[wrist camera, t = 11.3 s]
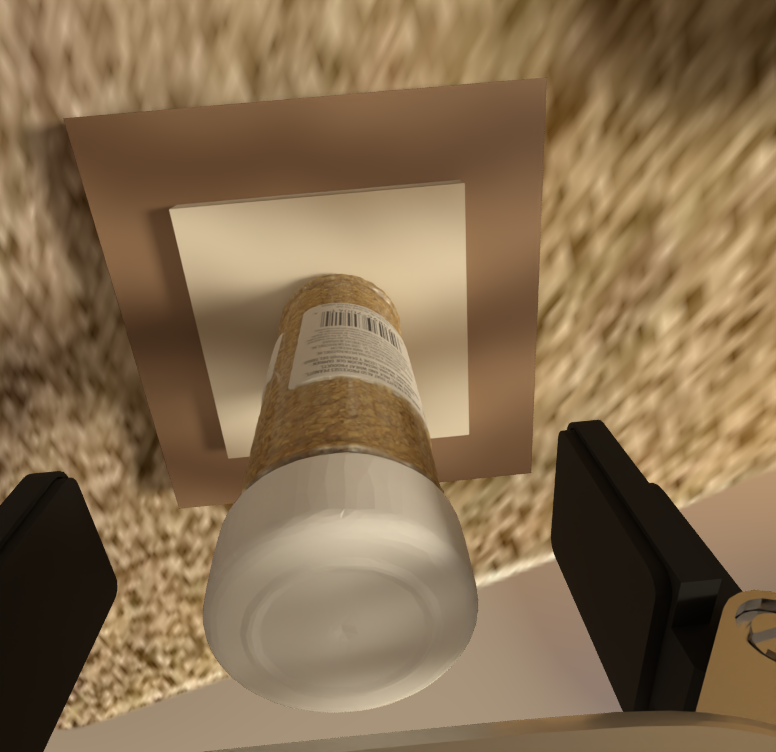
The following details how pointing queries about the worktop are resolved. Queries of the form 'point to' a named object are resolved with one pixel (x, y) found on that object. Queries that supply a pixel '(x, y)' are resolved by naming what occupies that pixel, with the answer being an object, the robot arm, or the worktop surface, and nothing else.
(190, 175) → the stacking base
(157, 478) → the worktop surface
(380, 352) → the sprinkles bottle
